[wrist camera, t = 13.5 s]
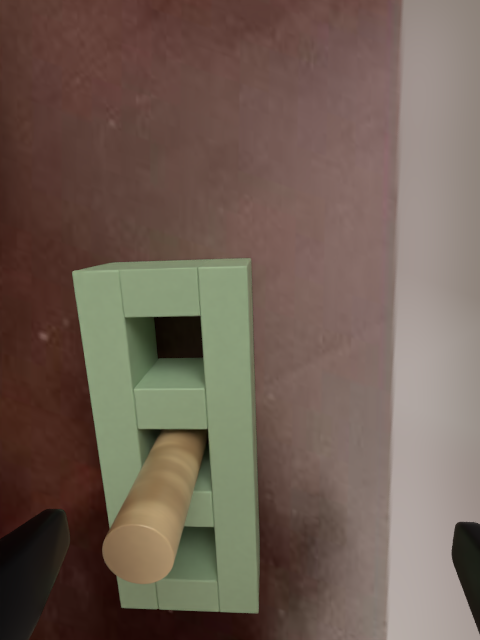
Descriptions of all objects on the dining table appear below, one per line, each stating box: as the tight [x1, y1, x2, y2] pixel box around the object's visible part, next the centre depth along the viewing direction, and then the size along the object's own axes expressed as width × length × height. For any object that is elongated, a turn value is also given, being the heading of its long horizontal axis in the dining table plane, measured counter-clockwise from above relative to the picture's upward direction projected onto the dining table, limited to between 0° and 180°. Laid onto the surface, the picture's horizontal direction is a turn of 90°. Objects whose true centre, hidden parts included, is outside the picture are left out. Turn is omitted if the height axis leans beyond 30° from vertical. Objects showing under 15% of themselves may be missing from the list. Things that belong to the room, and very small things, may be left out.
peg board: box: [72, 258, 260, 613], centre depth 19 cm, size 7×18×4 cm, turn 2°
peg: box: [102, 428, 208, 584], centre depth 16 cm, size 2×2×9 cm
